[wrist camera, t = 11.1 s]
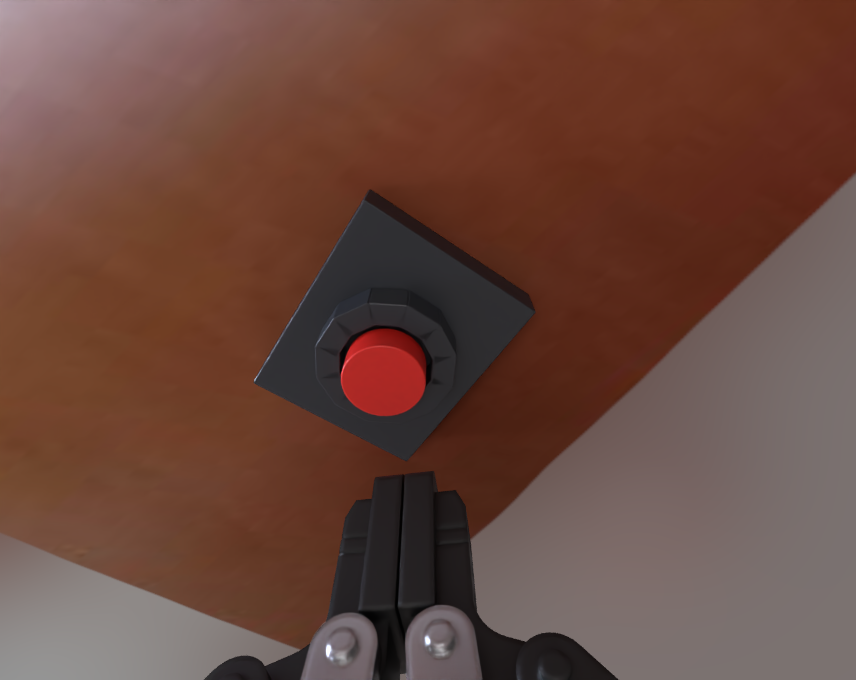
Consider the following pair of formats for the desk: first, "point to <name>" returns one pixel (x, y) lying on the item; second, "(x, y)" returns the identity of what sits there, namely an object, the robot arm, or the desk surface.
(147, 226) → the desk surface
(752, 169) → the desk surface
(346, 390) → the button
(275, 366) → the button base
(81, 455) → the desk surface
